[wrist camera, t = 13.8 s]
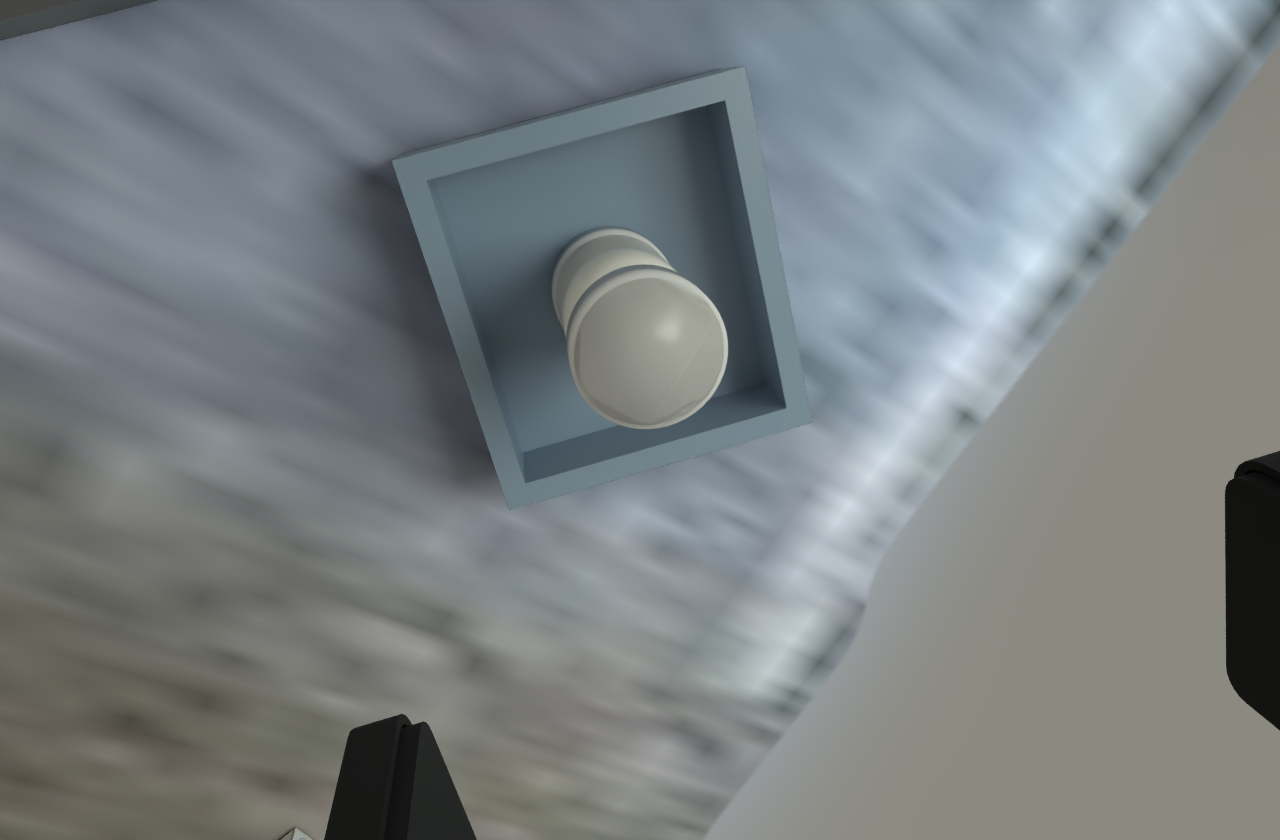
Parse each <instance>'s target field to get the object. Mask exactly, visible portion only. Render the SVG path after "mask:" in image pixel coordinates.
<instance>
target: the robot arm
mask: <svg viewBox="0 0 1280 840" xmlns="http://www.w3.org/2000/svg"><path fill="white" fill-rule="evenodd" d="M1225 540H1226V541H1225V555H1226V556H1225V557H1226V558H1225V559H1226V668H1227V674H1228V677H1229V680H1230V682H1231V684H1232V686H1233V688H1234V690H1235V691H1236V692H1237V694H1238V695H1239V696H1240V697H1241V698H1242V699H1243V700H1244V701H1245V702H1246V703H1247V704H1248V705H1249V706H1251V707H1252V708H1253V709H1254V710H1256V711H1257V712H1258V713H1259V714H1260V715H1262V716H1263V717H1264V718H1265V719H1267V720H1268V721H1269V722H1270V723H1272V724H1273V725H1274V726H1275V727H1276V728H1278V729H1279V730H1280V451H1278V452H1275V453H1272V454H1268V455H1265V456H1262V457H1259V458H1255V459H1252V460H1248V461H1245V462H1243V463H1242V464H1240V465H1239V466H1238V468H1237V470H1236V472H1235V474H1234V479H1232V480H1230V481H1229V482H1228V484H1227V486H1226V490H1225ZM324 840H477V839H476V837H475V834H474V832H473V830H472V827H471V825H470V822H469V820H468V817H467V815H466V813H465V810H464V808H463V805H462V803H461V801H460V798H459V796H458V793H457V791H456V789H455V786H454V784H453V781H452V779H451V777H450V774H449V772H448V769H447V767H446V764H445V762H444V760H443V757H442V755H441V752H440V750H439V748H438V745H437V743H436V740H435V738H434V736H433V733H432V731H431V729H430V727H429V725H428V724H427V723H426V722H421V723H417V724H414V725H412V724H411V722H410V720H409V719H408V718H407V716H406V715H403V714H400V715H397V716H393V717H390V718H387V719H383V720H380V721H377V722H373V723H370V724H367V725H363V726H360V727H357V728H354V729H352V730H351V731H350V734H349V736H348V739H347V744H346V748H345V752H344V756H343V761H342V765H341V769H340V774H339V778H338V782H337V787H336V791H335V795H334V800H333V804H332V808H331V812H330V817H329V821H328V825H327V830H326V834H325V838H324Z"/></svg>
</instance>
